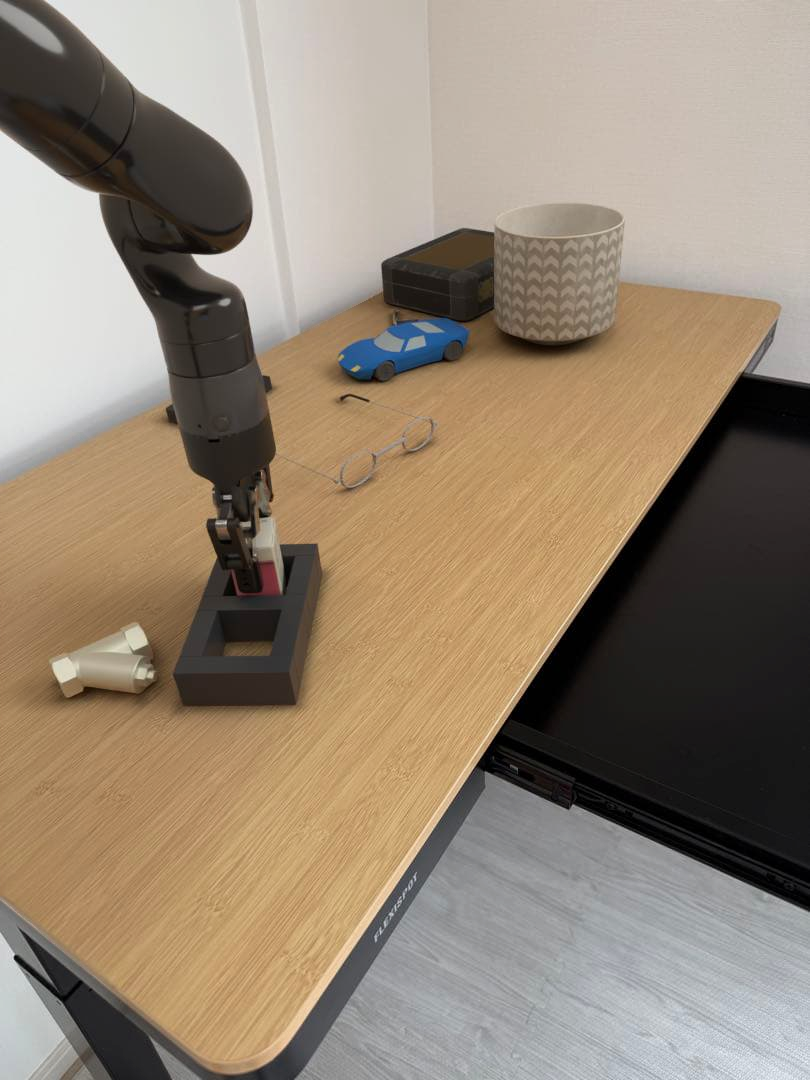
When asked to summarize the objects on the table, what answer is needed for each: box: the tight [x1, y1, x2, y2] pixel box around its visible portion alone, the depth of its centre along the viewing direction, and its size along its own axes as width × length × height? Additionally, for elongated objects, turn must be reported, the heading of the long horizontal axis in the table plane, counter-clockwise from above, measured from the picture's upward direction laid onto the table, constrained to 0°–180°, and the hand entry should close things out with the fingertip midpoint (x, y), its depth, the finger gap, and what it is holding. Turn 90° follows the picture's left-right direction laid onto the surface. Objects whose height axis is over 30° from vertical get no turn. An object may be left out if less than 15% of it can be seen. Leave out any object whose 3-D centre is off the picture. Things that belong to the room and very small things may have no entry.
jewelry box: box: [380, 227, 494, 322], centre depth 145 cm, size 25×20×8 cm
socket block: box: [172, 542, 323, 707], centre depth 74 cm, size 18×10×4 cm, turn 178°
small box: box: [231, 516, 287, 596], centre depth 75 cm, size 5×4×8 cm
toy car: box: [336, 317, 470, 383], centre depth 122 cm, size 9×20×5 cm, turn 120°
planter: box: [493, 201, 626, 347], centre depth 123 cm, size 19×19×18 cm
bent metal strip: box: [391, 310, 420, 326], centre depth 137 cm, size 7×1×5 cm
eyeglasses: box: [275, 393, 438, 489], centre depth 103 cm, size 18×19×4 cm
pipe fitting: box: [48, 621, 159, 698], centre depth 70 cm, size 8×4×7 cm
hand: (258, 570), depth 75 cm, fingers closed on small box, 5 cm apart
